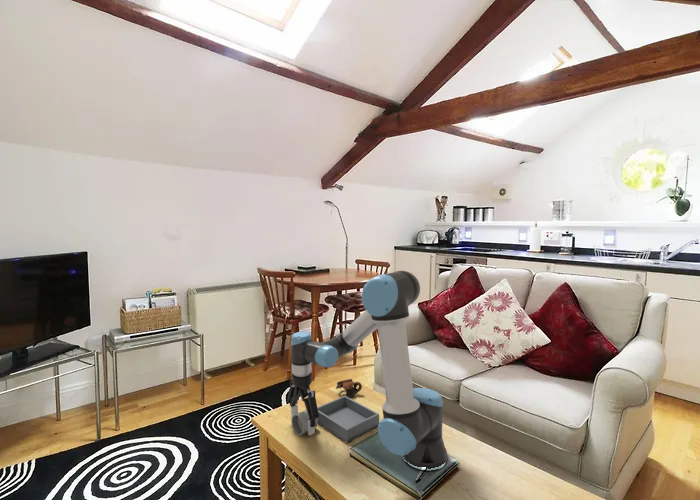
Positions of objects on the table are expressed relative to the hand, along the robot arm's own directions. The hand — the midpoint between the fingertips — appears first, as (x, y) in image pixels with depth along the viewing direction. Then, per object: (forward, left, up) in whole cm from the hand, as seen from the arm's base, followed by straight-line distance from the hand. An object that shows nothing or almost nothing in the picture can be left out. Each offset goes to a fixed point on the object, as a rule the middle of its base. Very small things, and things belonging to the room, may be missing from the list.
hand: (302, 427), depth 148 cm
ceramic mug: (0, 0, -1) cm, 1 cm away
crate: (-8, -15, -1) cm, 17 cm away
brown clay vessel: (+9, -32, -1) cm, 33 cm away
